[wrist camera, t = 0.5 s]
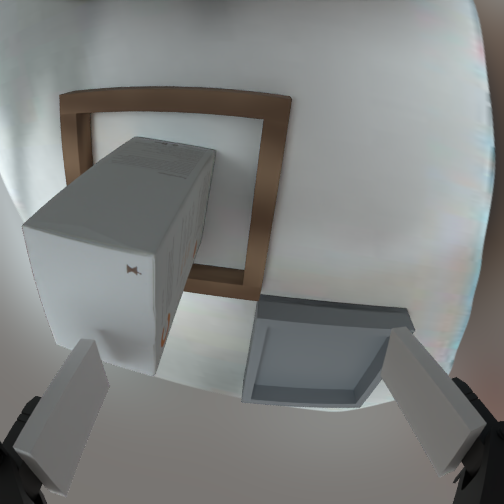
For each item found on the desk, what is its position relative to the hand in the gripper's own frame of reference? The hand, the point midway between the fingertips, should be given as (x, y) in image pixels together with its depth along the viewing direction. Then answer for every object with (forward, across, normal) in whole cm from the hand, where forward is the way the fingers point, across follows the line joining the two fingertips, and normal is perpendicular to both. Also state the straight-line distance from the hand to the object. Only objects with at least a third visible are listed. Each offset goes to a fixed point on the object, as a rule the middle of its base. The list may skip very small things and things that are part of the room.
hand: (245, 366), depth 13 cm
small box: (+13, -5, +6) cm, 15 cm away
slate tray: (+17, +8, -12) cm, 22 cm away
